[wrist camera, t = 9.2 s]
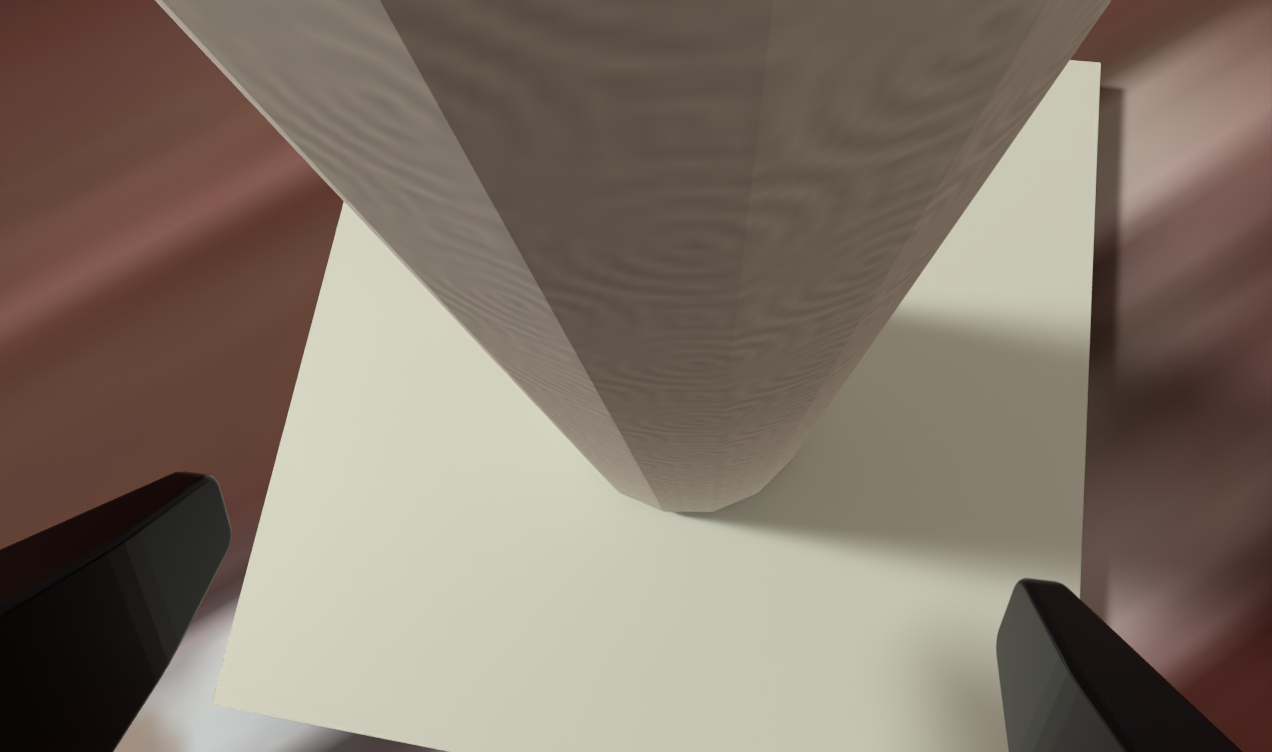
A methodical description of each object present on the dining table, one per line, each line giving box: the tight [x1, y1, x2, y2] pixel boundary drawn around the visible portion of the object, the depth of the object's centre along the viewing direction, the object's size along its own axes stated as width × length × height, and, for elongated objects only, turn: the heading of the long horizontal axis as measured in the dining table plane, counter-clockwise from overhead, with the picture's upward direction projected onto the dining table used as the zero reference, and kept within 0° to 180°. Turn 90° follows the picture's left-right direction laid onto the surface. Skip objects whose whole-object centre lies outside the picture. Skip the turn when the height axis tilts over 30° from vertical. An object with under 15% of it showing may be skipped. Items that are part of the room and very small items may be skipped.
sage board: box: [211, 60, 1101, 752], centre depth 22 cm, size 20×20×1 cm
